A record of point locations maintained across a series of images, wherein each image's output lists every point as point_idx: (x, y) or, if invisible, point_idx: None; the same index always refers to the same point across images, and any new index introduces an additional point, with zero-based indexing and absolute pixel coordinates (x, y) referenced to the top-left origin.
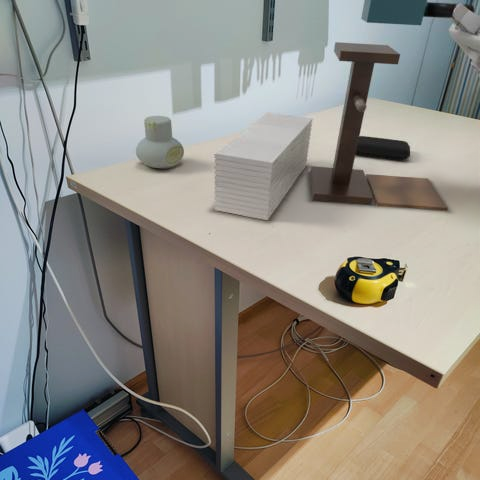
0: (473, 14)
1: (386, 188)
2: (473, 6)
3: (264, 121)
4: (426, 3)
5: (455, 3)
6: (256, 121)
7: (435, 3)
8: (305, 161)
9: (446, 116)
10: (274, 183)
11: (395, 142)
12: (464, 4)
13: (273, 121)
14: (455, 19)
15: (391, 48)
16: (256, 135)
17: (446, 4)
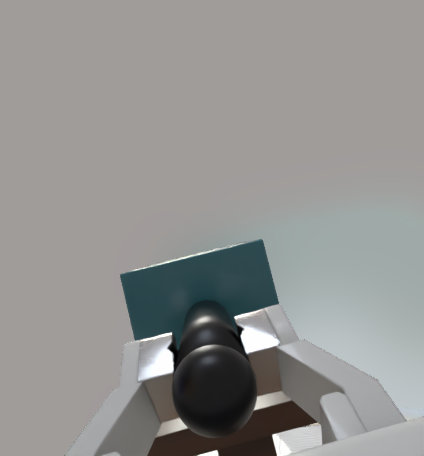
0: (89, 431)
1: None
2: (190, 368)
3: (302, 435)
4: (130, 317)
5: (234, 318)
6: (295, 428)
7: (191, 310)
8: None
9: None
10: None
11: None
12: (193, 339)
13: (312, 443)
14: (299, 399)
15: (257, 407)
16: (216, 453)
17: (188, 322)
